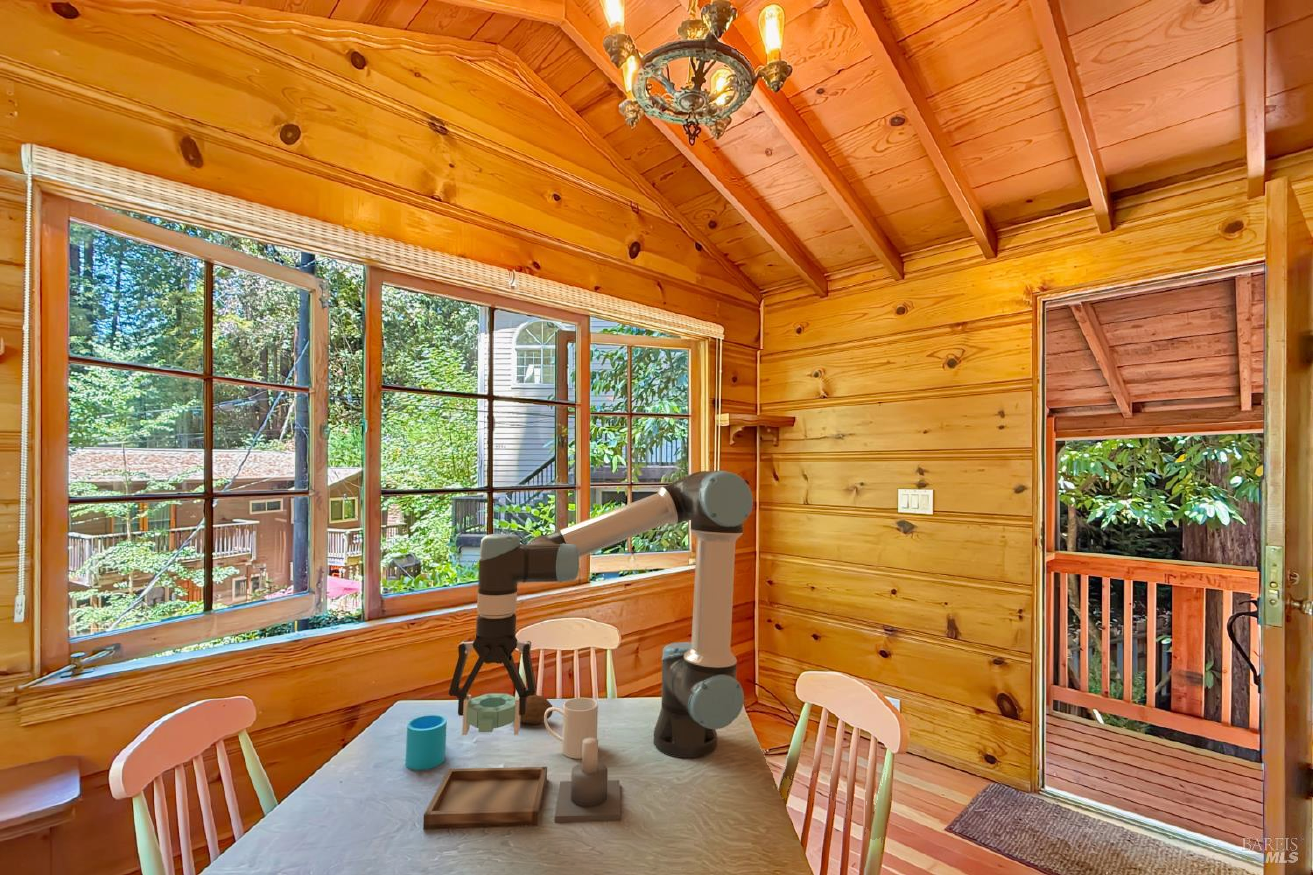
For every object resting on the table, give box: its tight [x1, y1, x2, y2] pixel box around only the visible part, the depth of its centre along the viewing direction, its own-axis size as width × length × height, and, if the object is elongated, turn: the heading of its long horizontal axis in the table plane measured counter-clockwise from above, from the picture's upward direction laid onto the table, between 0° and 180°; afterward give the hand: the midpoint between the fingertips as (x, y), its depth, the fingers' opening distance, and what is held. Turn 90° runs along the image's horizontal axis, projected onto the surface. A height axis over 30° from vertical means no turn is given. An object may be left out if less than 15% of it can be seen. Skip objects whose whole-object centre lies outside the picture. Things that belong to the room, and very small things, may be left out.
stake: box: [554, 738, 622, 823], centre depth 112 cm, size 12×12×12 cm
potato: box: [520, 694, 554, 725], centre depth 147 cm, size 7×12×7 cm, turn 92°
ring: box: [466, 693, 516, 733], centre depth 111 cm, size 9×11×3 cm
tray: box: [422, 766, 548, 830], centre depth 111 cm, size 20×16×2 cm
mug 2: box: [543, 697, 599, 760], centre depth 132 cm, size 12×8×10 cm, turn 97°
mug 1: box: [405, 714, 448, 771], centre depth 129 cm, size 12×8×8 cm
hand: (491, 731), depth 112 cm, fingers closed on ring, 9 cm apart
